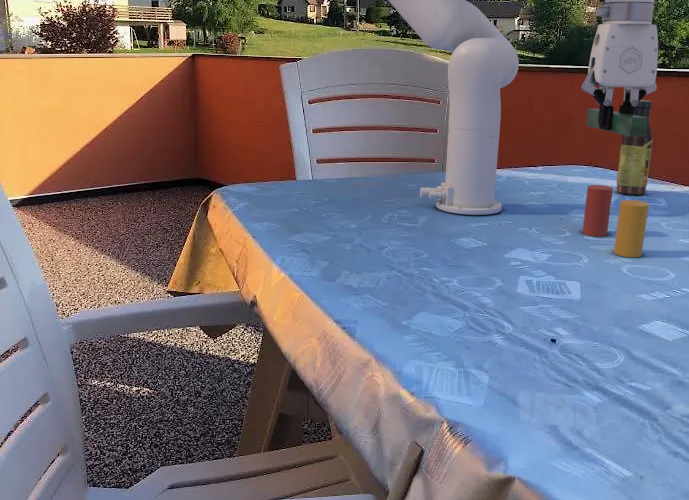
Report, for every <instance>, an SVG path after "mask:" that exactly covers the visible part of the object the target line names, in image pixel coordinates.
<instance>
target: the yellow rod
mask: <svg viewBox="0 0 689 500" xmlns="http://www.w3.org/2000/svg"><path fill="white" fill-rule="evenodd" d="M649 206H650V204H649V202H645V201H641V200H634V199H624V200H620V202H619V209H618V210H619V212H618V216H617V217H618V218H617V226H616V232H615V240H614V248H613V254H615V255H618V256H619V257H620V256H621V257H626V258H639V257H642V255H643V248H644V241H645V234H646V229H647V228H646V227H647V221H648V220H647V219H648V215H649Z"/></svg>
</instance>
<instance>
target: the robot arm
mask: <svg viewBox="0 0 689 500" xmlns="http://www.w3.org/2000/svg"><path fill="white" fill-rule="evenodd" d="M387 1H388V3H390V4H391V5H392V7H393V8H394V9H395V10H396V12H398V14H399V15H400V16H401V17H402V19H404V21H405V22H406V23H407V24H408V26H410V27H411V29H412V30H413V31H414V32H415V33H416V34H417V35H418V37H419V38H420V39H421V40H422V41H423V43H424V44H426V45H427V46H428V47H430V48H431V49H436V50H443V51H445V50H446V51H449V52H450V53H451V55H450V58H449V61H448V67H447V83H448V97H449V98H448V99H449V100H448V101H449V104H448V105H449V107H448V108H449V110H448V129H447V130H448V131H447V147H446V150H447V151H446V161H445V178H444V179H445V180H444V181H443V182H440V183H441V184H440V185H437V186H436V187H420V189H419V196H420V198H429V199H430V200H435V199H436V200H435V207H436V208H437V209H438V210H440V211H443V212H447V213H451V214H457V215H464V216H465V215H466V216H486V215H493V214H497V213H500V212H501V211H502V209H503V204H502V202H501V201H499V200H496V199H495V196H496V194H495V193H496V182H497V170H498V169H497V168H498V158H499V146H500V145H499V144H500V135H501V134H500V131H501V120H502V119H501V117H502V116H501V115H502V101H501V89H502V88H505V87H507V86H509V84H511V82H513V81H514V79H515V78H516V76H517V73H518V71H519V66H520V61H519V57H518V56H519V55H518V52H517V51H516V49H515V47H514V46H513V44H511V41H509V40H508V39H507V38H506V37H505V35H503V33H501V31H500V30H499V29H498V28H497V26H495V25H494V24H493V23H492V21H490V20H489V18H488V17H487V16H486V15H485V14H484V13H483V12H482V11H481V9H479V8H478V7H477V6H476V5H474V4H473V3H471V2H470V1H468V0H387ZM654 8H655V0H604V4H603V5H602V6H601V7H597V8H596V10H595V15H596V17H601V21H602V23H601V24H598V26H597V29H596V33H595V34H594V35H595V36H594V38H593V43H592V47H591V52H590V56H589V61H588V71H587V75H586V77H585V78H584V81H583V82H582V84H581V87H580V88H581V90H582V91H584V92H585V93H587V94H589V95H591V96H592V97H593V99H594V100H595V101H596V104H597V105H599V108H598V109H599V117H598V124H599V128H600V129H599V130H602V129H603V130H602V131H606V130H611V126H612V118H613V111H615V107H614V105H612V100H613V95H614V89H615V88H623V101H622V104H620V106H619V109H618V112H620V113H626V114H631V115H633V113H634V106H637V104H638V102H639V101H640V100H642V99H644V98H645V96H647V95H650V94H651V93H654V92H656V90H657V89H658V85H657V83H656V81H657V80H656V79H657V74H658V73H657V71H658V59H659V37H658V36H659V35H658V27H657V24H652V21H653V17H654V16H653V15H654ZM596 86H597V87H596Z"/></svg>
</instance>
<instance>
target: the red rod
mask: <svg viewBox="0 0 689 500" xmlns="http://www.w3.org/2000/svg"><path fill="white" fill-rule="evenodd" d="M613 190H614V188H613V187H611V186H609V185H603V184H602V185H601V184H591V185H588V186H587V189H586V199H585V206H584V214H583V222H582V224H583V225H582V234H583V235H586V236H590V237H607V235H608V230H609V223H610V222H609V221H610V214H611V208H612V207H611V206H612V198H613Z"/></svg>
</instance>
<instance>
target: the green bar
mask: <svg viewBox="0 0 689 500" xmlns="http://www.w3.org/2000/svg"><path fill="white" fill-rule="evenodd" d="M586 114H587V115H586V123H585V126H586V127H589V128H594V129H598V130H601V131H604V130H603V129H600V128H599V124H598V117H599V108H587V113H586ZM647 120H648V118H647V117H642V116H636V115H631V114H626V113H620V112H619V111H615V110H614V111H613V118H612V126H611V130H605V131H606V132H609V133H614V134H618V135H626V136H630V137H645V135H646V128H647Z"/></svg>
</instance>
